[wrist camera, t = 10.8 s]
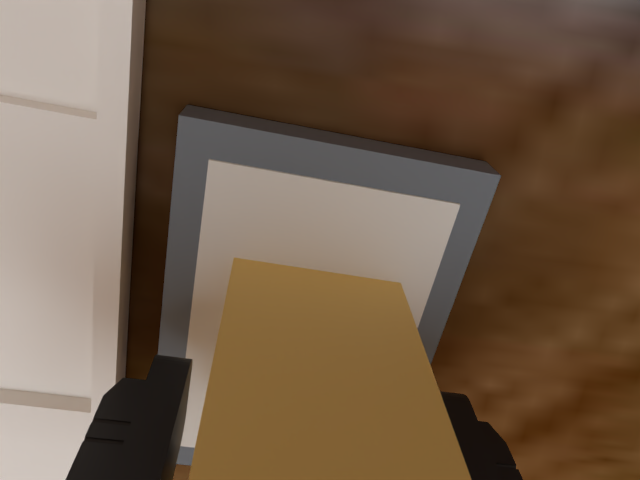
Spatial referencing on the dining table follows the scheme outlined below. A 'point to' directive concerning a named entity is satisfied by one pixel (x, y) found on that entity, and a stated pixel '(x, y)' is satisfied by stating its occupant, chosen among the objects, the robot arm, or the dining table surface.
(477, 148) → the dining table surface
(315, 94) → the dining table surface
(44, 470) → the white panel
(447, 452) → the tan rectangular block
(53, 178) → the dish mid
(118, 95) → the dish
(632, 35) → the dining table surface
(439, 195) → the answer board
